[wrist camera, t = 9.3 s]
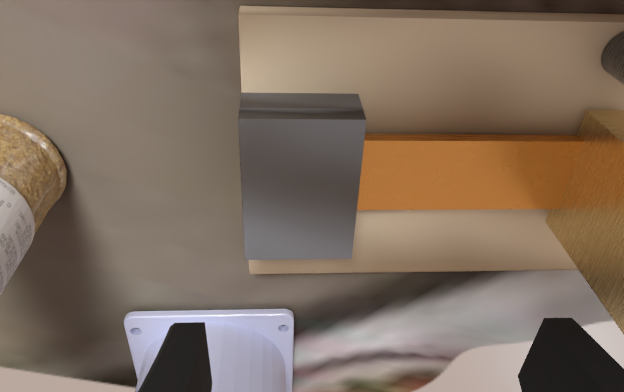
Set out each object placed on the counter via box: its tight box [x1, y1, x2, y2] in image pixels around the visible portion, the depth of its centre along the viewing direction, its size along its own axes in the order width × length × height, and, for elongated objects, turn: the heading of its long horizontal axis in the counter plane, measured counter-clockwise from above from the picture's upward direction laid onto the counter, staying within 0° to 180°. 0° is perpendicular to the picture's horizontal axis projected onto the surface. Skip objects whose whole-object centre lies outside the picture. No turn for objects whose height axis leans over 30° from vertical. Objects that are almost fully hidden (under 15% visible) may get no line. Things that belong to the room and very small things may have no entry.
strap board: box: [238, 6, 624, 274], centre depth 20 cm, size 11×20×3 cm, turn 88°
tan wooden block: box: [357, 110, 624, 334], centre depth 17 cm, size 5×11×7 cm, turn 88°
